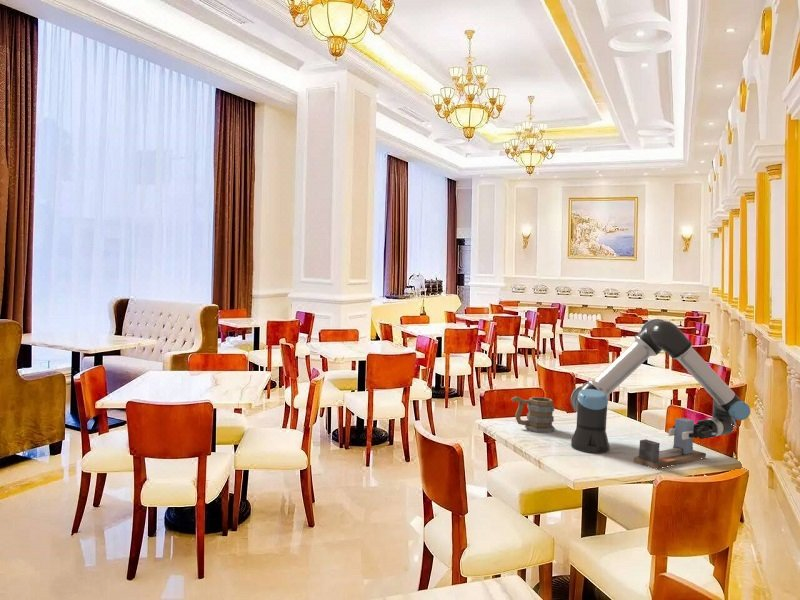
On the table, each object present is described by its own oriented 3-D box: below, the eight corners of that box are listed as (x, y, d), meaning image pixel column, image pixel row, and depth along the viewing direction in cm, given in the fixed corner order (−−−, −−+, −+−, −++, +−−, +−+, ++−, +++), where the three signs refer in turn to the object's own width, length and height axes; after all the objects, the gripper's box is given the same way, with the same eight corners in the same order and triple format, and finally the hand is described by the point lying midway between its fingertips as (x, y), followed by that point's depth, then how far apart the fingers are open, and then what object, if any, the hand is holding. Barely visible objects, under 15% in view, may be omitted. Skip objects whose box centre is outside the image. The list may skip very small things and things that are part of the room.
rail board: (634, 462, 236) (635, 439, 236) (682, 451, 254) (683, 430, 254) (657, 469, 228) (658, 445, 228) (705, 458, 246) (707, 436, 245)
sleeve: (672, 450, 246) (674, 418, 246) (680, 449, 249) (682, 417, 248) (685, 454, 242) (687, 421, 241) (692, 452, 245) (694, 420, 244)
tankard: (550, 426, 289) (551, 394, 288) (556, 433, 276) (558, 400, 275) (507, 424, 289) (509, 393, 289) (512, 431, 277) (513, 398, 276)
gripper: (730, 442, 248) (697, 449, 235) (687, 431, 263) (655, 438, 250) (731, 424, 247) (698, 430, 234) (689, 414, 262) (656, 419, 250)
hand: (676, 434), depth 242 cm, fingers closed on sleeve, 5 cm apart
